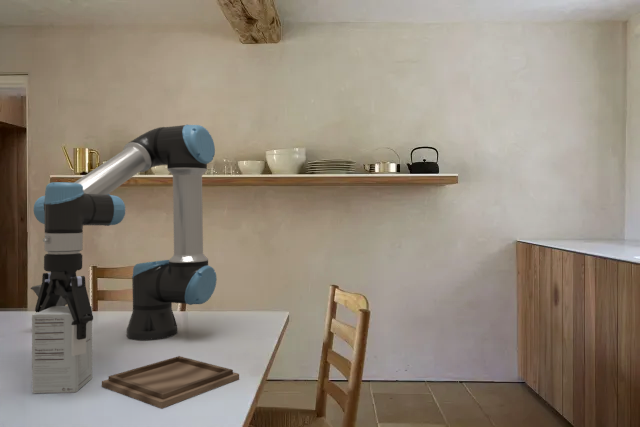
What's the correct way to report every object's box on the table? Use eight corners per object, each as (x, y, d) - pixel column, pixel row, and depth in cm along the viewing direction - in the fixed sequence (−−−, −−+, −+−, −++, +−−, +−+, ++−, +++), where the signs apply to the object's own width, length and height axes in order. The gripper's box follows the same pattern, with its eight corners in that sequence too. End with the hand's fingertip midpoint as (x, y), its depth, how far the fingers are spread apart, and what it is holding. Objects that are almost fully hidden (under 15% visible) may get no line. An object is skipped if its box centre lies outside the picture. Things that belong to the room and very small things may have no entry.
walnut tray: (101, 386, 108) (101, 376, 108) (179, 363, 125) (179, 354, 125) (161, 408, 95) (161, 397, 95) (239, 379, 112) (239, 369, 112)
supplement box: (51, 379, 113) (51, 305, 113) (93, 378, 113) (93, 305, 114) (30, 394, 103) (30, 314, 103) (76, 392, 104) (76, 313, 104)
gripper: (19, 251, 113) (18, 344, 112) (76, 256, 98) (75, 362, 98) (52, 249, 119) (51, 338, 118) (111, 254, 104) (110, 354, 104)
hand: (62, 349), depth 108 cm, fingers open, 13 cm apart
